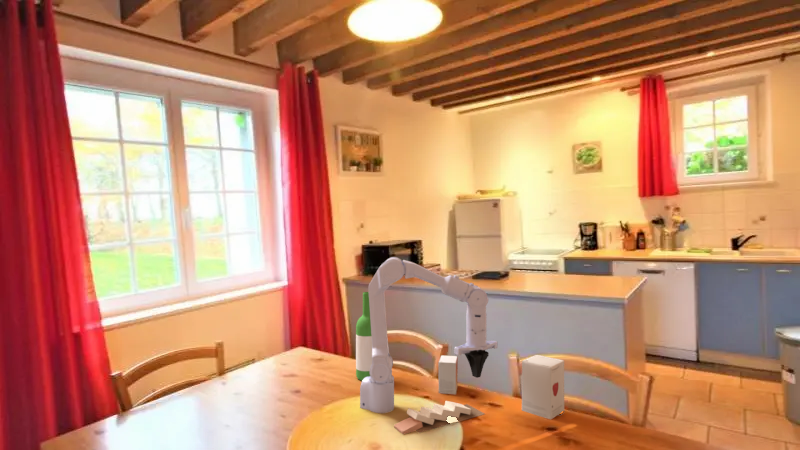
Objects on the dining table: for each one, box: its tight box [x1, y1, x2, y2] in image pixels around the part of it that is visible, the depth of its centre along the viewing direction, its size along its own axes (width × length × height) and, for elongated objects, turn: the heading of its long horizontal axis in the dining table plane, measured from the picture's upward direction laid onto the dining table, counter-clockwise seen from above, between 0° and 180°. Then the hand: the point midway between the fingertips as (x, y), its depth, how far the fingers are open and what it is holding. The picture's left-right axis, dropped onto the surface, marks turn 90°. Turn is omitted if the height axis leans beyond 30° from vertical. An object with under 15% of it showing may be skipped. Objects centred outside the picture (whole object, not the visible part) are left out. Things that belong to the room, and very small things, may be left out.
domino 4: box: [432, 403, 460, 418], centre depth 120 cm, size 1×4×6 cm
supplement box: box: [521, 354, 565, 420], centre depth 125 cm, size 9×9×15 cm
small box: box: [437, 355, 459, 395], centre depth 141 cm, size 8×6×10 cm
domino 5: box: [443, 400, 471, 415], centre depth 122 cm, size 1×4×6 cm
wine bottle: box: [355, 291, 372, 382], centre depth 154 cm, size 8×8×30 cm
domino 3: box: [419, 406, 448, 421], centre depth 118 cm, size 1×4×6 cm
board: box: [415, 403, 486, 434], centre depth 120 cm, size 22×8×1 cm, turn 121°
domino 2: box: [406, 407, 434, 425], centre depth 116 cm, size 1×4×6 cm
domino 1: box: [393, 416, 423, 435], centre depth 114 cm, size 1×4×6 cm
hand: (476, 376), depth 126 cm, fingers closed
